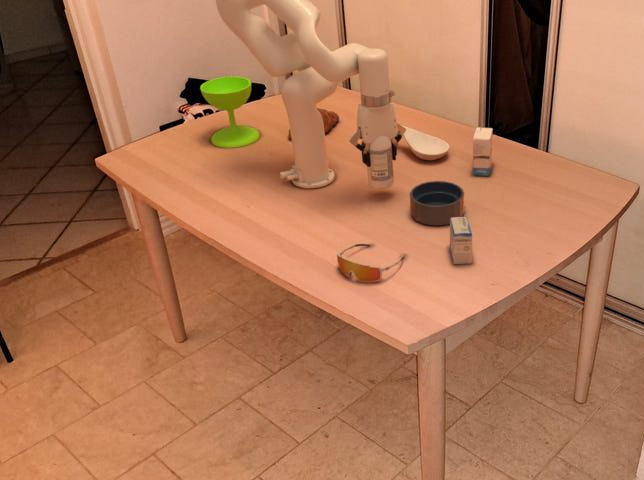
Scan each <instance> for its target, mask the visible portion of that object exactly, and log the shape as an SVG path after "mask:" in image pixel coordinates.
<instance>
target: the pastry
mask: <svg viewBox="0 0 644 480" xmlns="http://www.w3.org/2000/svg"><path fill="white" fill-rule="evenodd" d="M317 109H318V111H319V113H320V114H321V116H322V119H323V123H324V132H325V135H326V134H327V133H328V132H330V131H331V130H332V128H333V127H335V126H336V124H337V123H338V122H339V120H340V115H338V114H337V112H335V111H333V110H327V109H325V108H319V107H317ZM288 138H289V139H290V140H291V141H292V139H291V132H290V128H289V129H288Z"/></svg>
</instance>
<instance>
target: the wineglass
mask: <svg viewBox="0 0 644 480" xmlns="http://www.w3.org/2000/svg"><path fill="white" fill-rule="evenodd" d="M199 90H200V92H201V95H202V97H203V98H204V100H205V101H206V102H207V103H208V104H209V105H211V107H212V108H215V109H217V110H220V111H227V115H228V120H229V127H228V126H227V127H225V128H222V129H219V130H217V131H216V132H215V133H213V135H212V136H211V138H210V143H211V144H212V145H214V146H216V147H219V148H226V149H227V148H228V149H229V148H232V149H233V148H234V149H235V148H240V147H245V146H249V145H251V144H253V143H254V142H257V140H259V139H260V137H261V134H260V132H259V131H258V130H257V129H256V128H254V127H251V126H247V125H237V121H236V117H235V110H237V109H239V108H241V107H243V106H244V105H245V104H246V103H247V101H248V99H250V96H251V94H252V93H251V92H252V81H251V80H250V79H249V78H247V77H244V76H243V77H242V76H222V77H216V78H213V79H209V80H207V81H205V82H203V83H202V84H201V85H200V88H199Z"/></svg>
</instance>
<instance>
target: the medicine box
mask: <svg viewBox="0 0 644 480" xmlns="http://www.w3.org/2000/svg"><path fill="white" fill-rule="evenodd" d="M449 250H450V254H451V258H452V263H453V265H466V264H472V261H473V259H472V258H473V232H472V229H471V225H470V222H469V217H468V216H462V217H454V218H450V224H449Z"/></svg>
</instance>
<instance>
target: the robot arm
mask: <svg viewBox="0 0 644 480" xmlns="http://www.w3.org/2000/svg"><path fill="white" fill-rule="evenodd" d="M215 4H216V9H217V12H218V14H219V17H220V18H221V20H222V21H223V23H224V24H225V25H226V27H228V29H230V31H231V32H232V33H233V34H234V35H235V36H237V38H238V39H239V40H240V41H241V42H242V43H243V44H244V45H245V47H246V48H247V49H248V51H249V52H250V53H251V54H252V55H253V57H254V58H255V59H256V60H257V62H258V63H259V64H260V66H261V67H263V69H264V70H265V71H266V72H267V73H268V75H270V76H271V77H273V78H282V77H284V76H286V75H289V74H291V73H293V72H295V71H298V72H296V73H294V74H292V75H290V76H289V77H288V78H287V79H285V81H284V82H283V84H282V86H281V91H280V92H281V93H280V95H281V99H282V102H283V105H284V107H285V110H286V113H287V114H286V115H287V118H288V125H289V129H290V132H291V139H292V140H291V139H290V140H291V145H292V152H293V160H294V164H292V165H291V167H292V168H290V169H289V170H286V171H280V172H279V177H280V179H281V180H284V179H286V180H287V181H291V182H292V184H293V185H294V186H296V187H299V188H302V189H318V188H319V189H320V188H323V187H326V186H327V185H330V184H331V183H333V181H334V180H335V177H336V176H335V172H334V171H333V169H331V168H329V162H328V151H327V142H326V134H325V132H324V123H323V119H322V116H321V114H320V113H319V111H318V109H317V108H318V107H317V105H318V104H319V103H320V102H322V101H324V100H326V99H328V98H329V97H331V96H332V95H334V93H336V91H337V88H338V84H341V83H343V82H344V81H347V80H348V79H349V78H351V77H353V76H357V75H358V76H359V77H358V78H359V89H360V91H359V92H360V103H359V104H357V105H358V106H357V112H356V132H355V133H354V134H353V135H352V137H351V138H350V139H349V143H350V144H351V145H353V146H354V147H355V148H356V149H357V150H358V151H360V152H361V161H362V163H363V164H364V165H365V166H366V167H367V166H368V167H370V166H371V163H370V153H368V150H369V147H370V144H371V143H373V142H374V141H375V140H376V139H377V138H378V137H379V136H386V137H388V138H389V139H390V140H391V144H392V161H397V155H398V151H397V150H398V149H397V147H398V146H399V142H400V141H401V140H402V138H403V134H404V133H405V131H406V129H405V128H404V127H402V126H403V125H401V124H400V123H398V121H397V115H396V110H395V106H394V103H393V100H392V98H393V97H394V96H395V91H394V90H390V73H389V72H390V71H389V57H388V53H387V52H386V51H385V50H384V49H382V48H376V47H375V48H373V47H372V48H371V47H367V46H365V45H363V44H360V43H358V42H357V43H355V42H351V43H347V44H345V45H344V46H341V47H338V48H337V49H334V50H333V51H331V50H330V49H329V47H327V46H326V45H325V44H324V43H323V42H322V41H321V40H320V39H319V37H318V35H317V32H316V28H317V26H318V24H319V23H320V20H321V15H322V14H321V11H320V9H319V8H318V7H317V6H315V4H313V2H311V0H215ZM264 5H265V6H266V7H267V8H268V9H269V10H270V11H271V12H272V13H273V14H274V15H275V16H276V17H277V18H278V19H279V20H280V21H281V22H282V23H284V24H285V25H286V26H287V27H288V28H289V29H290V30H291V31H292V32H291V33H290V32H289V33H287V34H285V35H282V36H280V35H278V34H277V32H275V30H274V29H273V27H271V25H270V23H268V22H267V20H265V19H264V18H263V17H261V16H259V15H257V14H255V13H253V12H252V11H251V10H252V9H255V8H258V7H261V6H264ZM397 129H398V132H397ZM359 140H361V143H359V142H358V141H359Z"/></svg>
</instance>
